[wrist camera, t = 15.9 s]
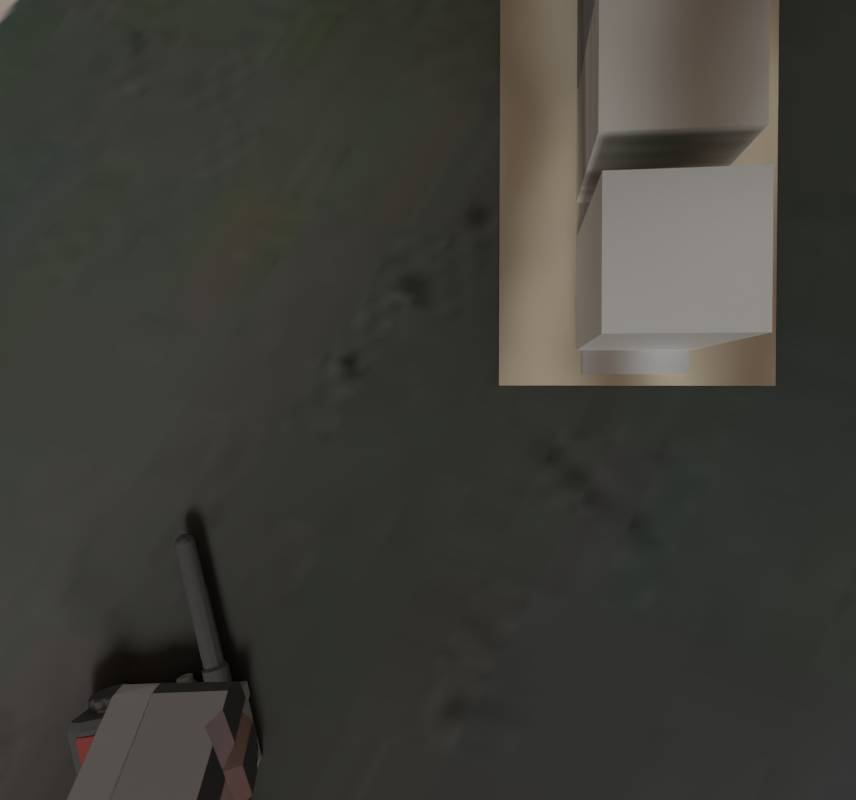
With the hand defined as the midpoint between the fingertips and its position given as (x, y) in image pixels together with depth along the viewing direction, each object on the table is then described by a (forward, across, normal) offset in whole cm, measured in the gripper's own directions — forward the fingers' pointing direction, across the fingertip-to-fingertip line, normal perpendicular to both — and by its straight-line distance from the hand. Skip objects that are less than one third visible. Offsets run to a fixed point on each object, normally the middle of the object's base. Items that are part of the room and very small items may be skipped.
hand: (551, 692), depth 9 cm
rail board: (+28, -8, +1) cm, 29 cm away
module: (+24, -7, +5) cm, 25 cm away
